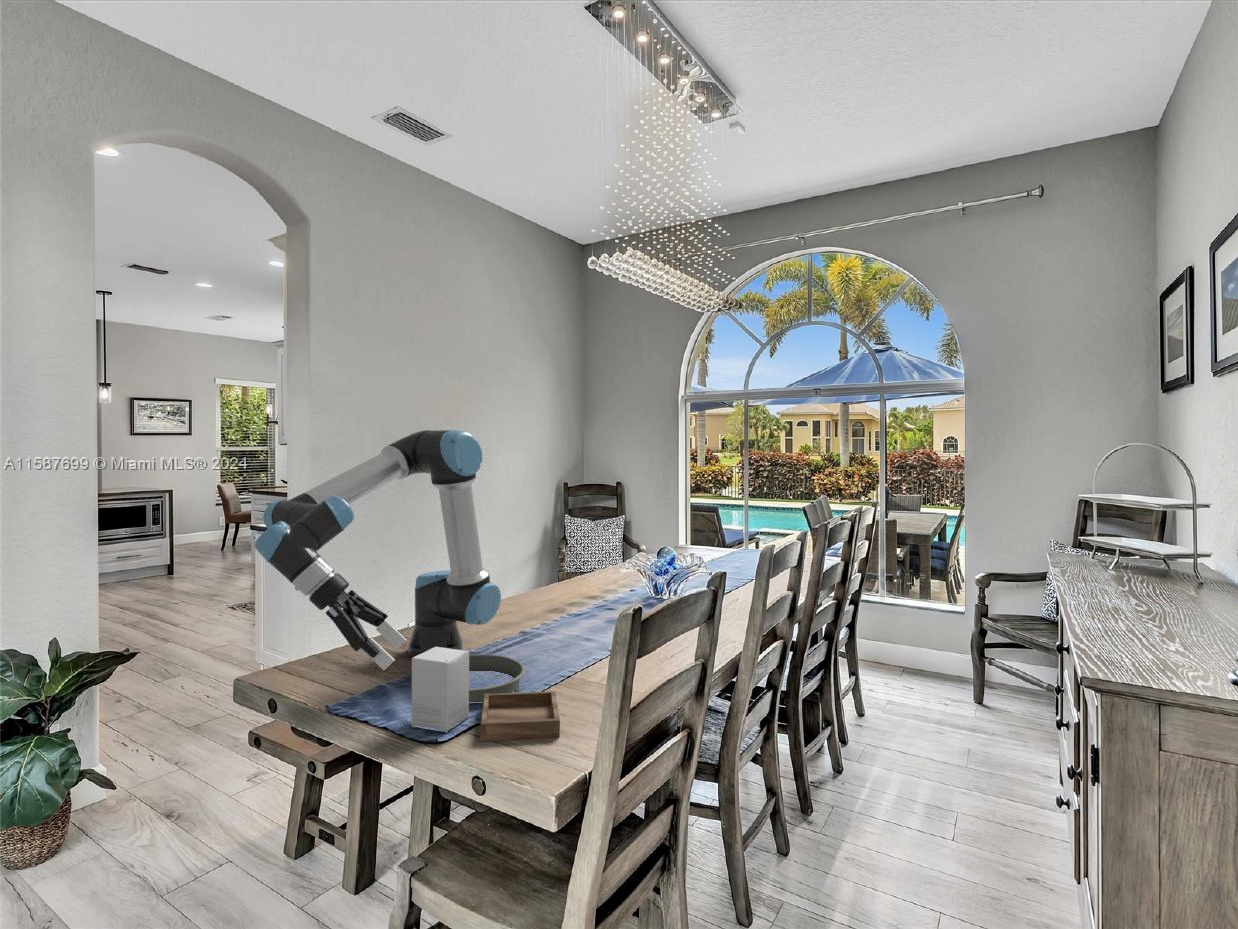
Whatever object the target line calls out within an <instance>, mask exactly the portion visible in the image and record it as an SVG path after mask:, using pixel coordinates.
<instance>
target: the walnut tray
mask: <svg viewBox="0 0 1238 929" xmlns="http://www.w3.org/2000/svg"><path fill="white" fill-rule="evenodd" d="M556 693H557V692H556V691H555V690H552V691H551V690H550V691H548V690H547V691H529V692H527V691H526V692H525V691H524V692H514V693H496V694H485V696H484V703H482V704H483V705H482V714H481V721H480V742H493V741H512V740H513V741H515V740H533V739H551V738H560V737H561V736H560V733H561V720H560V719H561V718H560V711H559V707H558V700H557V694H556Z"/></svg>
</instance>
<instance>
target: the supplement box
mask: <svg viewBox="0 0 1238 929" xmlns="http://www.w3.org/2000/svg"><path fill="white" fill-rule="evenodd" d="M469 655H470V651H469V650H464V649H462V650H456V649H449V648H442V647H434V648H432V649H430V650H428V651H426V652H424V653H422V654H419V655H417V656H415V657H412V658H411V724H410V726H411V725H413V726H422V727H428V728H434V729H440V730H443V731H447V730H449V729H451V728H452V727H453V726H455V725H456V724H457V723H459V722H461V721H462V720H463V719H465V718H467V717H468V715H469V711H470V708H469V705H470V704H469ZM468 718H469V717H468ZM468 718H467V719H468Z"/></svg>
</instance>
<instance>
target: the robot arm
mask: <svg viewBox="0 0 1238 929" xmlns="http://www.w3.org/2000/svg"><path fill="white" fill-rule="evenodd" d="M482 449H483V448H482V447H481V444H480V442H479V440H478V439H477V438H476V437H475V436H473V434H471V433H470V432H467V431H464V430H456V429H445V430H441V429H439V430H437V429H434V430H430V429H428V430H421V431H416V432H413V433H411V434H409V435H407V436H405V437H402V438H401V439H398V440H396V441H394V442H392V443H391V444H388V445H386V446H385V447H383V448H382V449H381V453H379V454H377V455H375V456H374V457H371V458H369V459H368V460H365V461H363V462H360V464H358V465H356V466H354V467H352V468H350V469H348V470H346V471H344V472H342V473H340V474H338V475H336V476H334V477H332V478H330V479H328V480H326V481H324V482H322V483H321V484H319V485H316V486H315V487H313V488H310V489H308V490H307V491H304V492H303V493H301V494H298V495H296V496H294V497H293V498H290V499H288V500H286V499H281V500H275V501H273V502H271V503H269V504H268V505H267V507H266V508H265V509H264V511H263V516H262V518H263V523H264V525H265V527H266V528H267V529H266V530H265V531H263V533H261V534H260V535H259V536H258V537H257V538H256V540H255V542H254V548H255V549H256V551H257V552H258V553H259V554H260V556H261V557H262V558H263V559H264V560H266V562H267V563H269V564H270V565H271V566H272V567H273V568H274V569H276V570H277V571H278V572H279V573H280V574H281V575H282V576H283V577H285V579H286V580H288V582H289V583H291V584H292V585H293V586H294V591H296V592H297V591H298V592H301V593H302V595H304V596H305V597H307V596H309V597H308V599H309V602H311V603H312V604H313V605H314V606H315V607H316V608H317V609H318V610H319V611H323V610H324V609H325V608H327V607H328V608H329V609H327V611H325V614H326V616H328V618H329V619H330V620H331V621H332V622H333V623H334V624H335V626H336V628H337V629H338V630H339V632H340V633H341V634H342V635H343V637H344V638H345V640H346V641H347V643H348V644H349V646H350V647H351V648H352V649H353V651H354V652H358V651H360V650H361V651H362V652H364V653H365V654H366V655H367V656H368V657H369V658H370V659H371V660H372V661H373V662H374V663H375V664H376V665H378V667H380V669H382V670H383V671H385V670H387V669H388V667H390V666H391V665H392V664H393V662H395V661H396V659H395V658H394V657H393V656H392V655H390V653H388V651H386V649H384V648H383V647H382V646H381V645H380V644H379V643H378V642H377V641H375V639H374V638H372V637H371V638H369V636H368V635H367V632H366V631H365V629H364V627H363V625H362V624H361V622H360V620H362V621H363V622H365V623H367V624H369V625H372V626H373V627H375V630H376V632H378V633H379V634H380V635H381V636H382V637H383V638H384V639H385V640H386V641H387V642H388V643H390V645H392V646H393V647H394V648H395V650H398V649H399V648H400V647H401V646H402V645H403V644H404V643H405V642H407V638H405V637H404V636H403V635H402V634H401V633H400V632H399V631H398V630H397V629H396V628H395V627H394V626H393V625H392V624H391V623H390V622H389V621H388V620H387V618H388V616H389V615H388V614H387V613H385V612H383V610H381V609H379V608H378V607H376V606H375V605H373V604H372V603H370V602H369V601H367V600H366V599H364V598H363V597H361V596H360V595H359V594H358V593H356V591H354V590H353V589H351V590H349V592H346V591H345V590H346V589H348V587H349V585H350V583H349V582H348V581H347V580H346V578H344V577H343V575H341V574H340V573H337V572H336V573H335V570H336V569H335V568H334V567H333V566H332V565H331V564H330V563H329V562H328V561H327V560H325V559H324V558H323V557H322V555H320V554H319V553H318V551H319V550H320V549H321V548H322V547H323V546H325V545H327V544H328V543H329V542H330V541H331V540H333V539H334V538H335V537H337V536H338V535H340V534H341V533H342V532H344V531H345V529H347V527H349V525H350V524H352V523H353V521H354V519H355V514H354V510H353V508H352V506H351V504H352V503H354V502H356V501H358V500H360V499H361V498H363V497H364V496H367V495H368V494H370V493H372V492H374V491H376V490H378V489H379V488H381V487H383V486H385V485H387V484H389V483H390V482H392V481H395V479H398V480H403V479H405V478H407V477H409V476H412V475H416V474H430V479H431V484H432V486H434V487H435V488H437V490H438V491H439V492H438V493H439V499H440V507H441V514H442V521H443V527H444V534H445V541H446V548H447V554H448V560H449V561H448V562H449V568H450V569H449V570H438V571H437V570H436V571H430V572H425V573H421V574H419V575H418V576H417V577H416V578H415V587H414V627H413V631H412V632H411V633H412V634H411V635H410V639H409V643H408V644H407V645H408V646H407V647H408V649H407V654H408V655H409V656H410V657H412V658H413V657H415V656H417V655H419V654H422V653H424V652H426V651H428V650H430V649H432V648H434V647H442V648H449V649H456V650H463V639H462V636H461V634H460V630H459V626H458V624H457V622H460V623H465V624H467V625H471V626H472V625H477V626H483V625H486V624H488V623H489V622H490V621H492V620H493V618H494V617H495V616H496V615H497V612H498V610H499V608H500V605H501V601H502V593H501V589H500V587H499V586H497V584H495V583H493V582H491V578H490V572H489V571H488V570H487V568H485V567H483V562H482V553H481V546H480V538H479V530H478V524H477V515H476V509H475V501H474V495H473V488H472V484H473V483H474V481H475V480H476V479H477V476H476V473H478V472H479V470H480V468H481V464H482V462H483V450H482Z"/></svg>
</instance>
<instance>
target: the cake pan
mask: <svg viewBox="0 0 1238 929" xmlns="http://www.w3.org/2000/svg"><path fill="white" fill-rule="evenodd" d="M469 671H495V672H500V673H504V674H508V675H510V676H512V677H513V678H514V679H512V680H510V681H508V682H505V683H502V684H499V685H495V686H490V687H483V688H470V689H469V702H484V696H485V694H496V693H512V692H513V691H515V690H516V689H517V690H518V689H519V685H520V680H521V678H522V677H523V676H524V674H525V672H526V668H525V665H524V664H523V663H522V662H520V661H519V660H517V659H515V658H513V657H509V656H505V655H498V654H487V653H486V654H485V653H484V654H479V653H478V654H469ZM517 690H516V691H517ZM516 691H515V692H516Z"/></svg>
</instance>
